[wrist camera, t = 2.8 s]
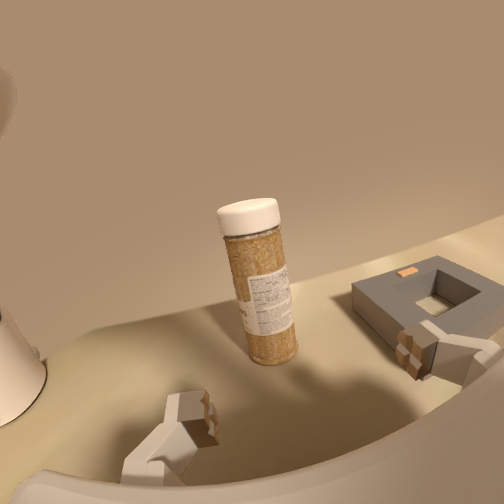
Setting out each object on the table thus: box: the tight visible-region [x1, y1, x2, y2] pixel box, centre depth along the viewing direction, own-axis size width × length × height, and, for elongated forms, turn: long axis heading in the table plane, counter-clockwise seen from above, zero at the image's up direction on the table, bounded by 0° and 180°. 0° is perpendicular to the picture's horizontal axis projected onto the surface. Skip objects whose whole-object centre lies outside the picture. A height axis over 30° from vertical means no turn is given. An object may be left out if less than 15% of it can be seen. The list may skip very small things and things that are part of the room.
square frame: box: [352, 255, 504, 381], centre depth 21 cm, size 13×13×3 cm
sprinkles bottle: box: [217, 198, 298, 365], centre depth 22 cm, size 5×5×14 cm
